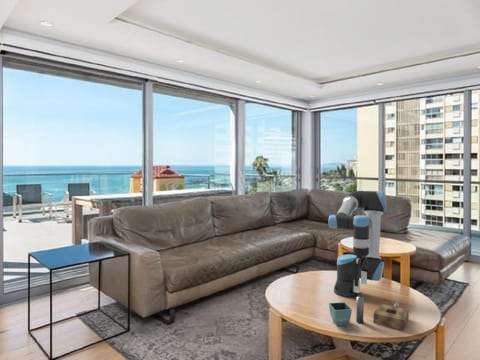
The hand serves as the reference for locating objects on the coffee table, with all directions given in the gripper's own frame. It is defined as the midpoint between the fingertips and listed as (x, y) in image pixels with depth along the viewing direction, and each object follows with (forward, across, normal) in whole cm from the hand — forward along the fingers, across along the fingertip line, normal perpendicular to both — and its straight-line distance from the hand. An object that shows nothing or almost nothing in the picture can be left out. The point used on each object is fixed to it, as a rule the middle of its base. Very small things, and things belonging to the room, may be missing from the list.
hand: (360, 288), depth 168 cm
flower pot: (+18, -7, +8) cm, 21 cm away
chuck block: (+18, +16, -13) cm, 27 cm away
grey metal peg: (+18, 0, 0) cm, 18 cm away
